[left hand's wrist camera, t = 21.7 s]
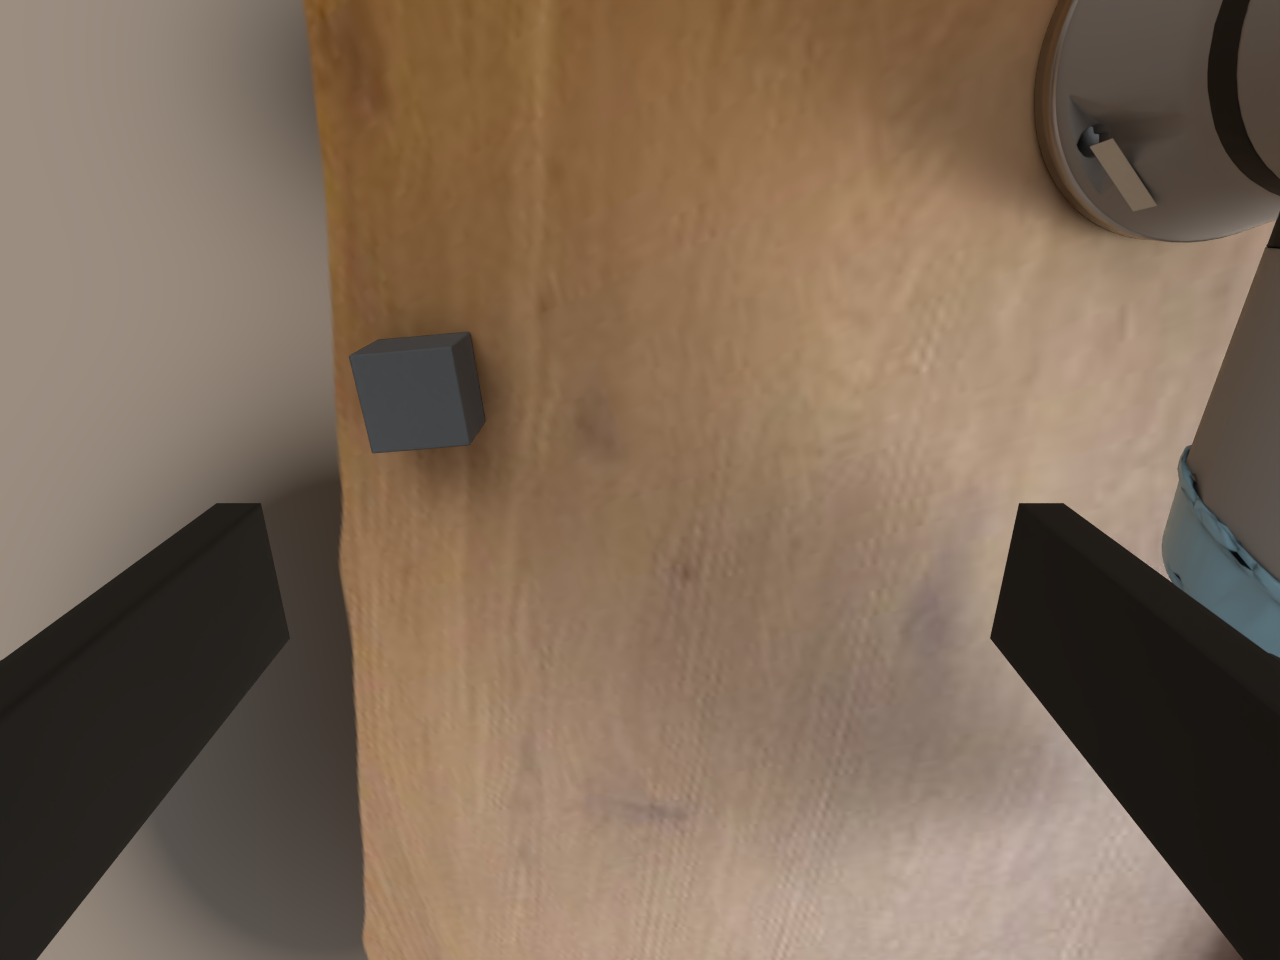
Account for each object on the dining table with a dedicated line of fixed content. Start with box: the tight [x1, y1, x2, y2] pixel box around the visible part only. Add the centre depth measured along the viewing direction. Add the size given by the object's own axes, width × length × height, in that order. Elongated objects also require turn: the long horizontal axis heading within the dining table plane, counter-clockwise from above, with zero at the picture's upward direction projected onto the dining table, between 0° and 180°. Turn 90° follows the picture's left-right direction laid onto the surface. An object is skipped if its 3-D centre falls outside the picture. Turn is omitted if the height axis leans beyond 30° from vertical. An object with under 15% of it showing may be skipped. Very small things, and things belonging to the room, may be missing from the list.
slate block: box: [349, 332, 485, 453], centre depth 37 cm, size 5×5×4 cm
